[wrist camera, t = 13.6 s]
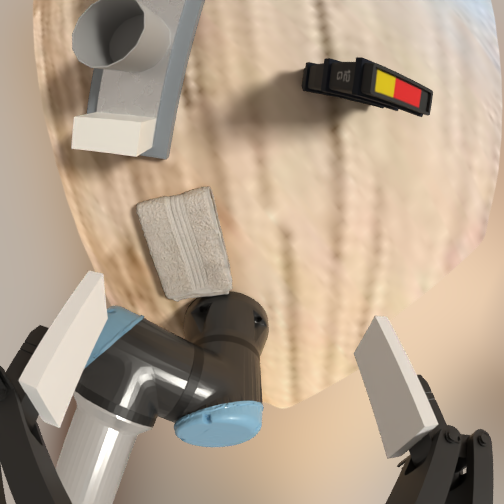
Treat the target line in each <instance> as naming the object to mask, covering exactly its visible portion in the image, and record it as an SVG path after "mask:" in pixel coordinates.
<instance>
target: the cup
mask: <svg viewBox="0 0 504 504" xmlns="http://www.w3.org/2000/svg"><path fill="white" fill-rule="evenodd" d="M169 45H170V30H169V28H168V27H167V25H166V24H165V22H164V21H163V20H162V19H161V18H160V17H158V16H157V15H156V14H155V13H154V12H152V11H151V10H150V9H148V8H147V7H146V6H145V5H143V4H142V3H141V2H139V1H138V0H99V1H97V2H95V3H93V4H91V5H90V7H89V8H88V9H87V10H86V11H85V12H84V13H83V14H82V15H81V16H80V17H79V19H78V22H77V24H76V26H75V29H74V31H73V33H72V49H73V51H74V53H75V55H76V57H77V59H78V60H79V62H81V63H83V64H85V65H87V66H89V67H91V68H98V69H108V70H116V71H124V72H142V71H145V70H147V69H149V68H152V67H154V66H155V65H156V64H157V63H158V62H159V61H160V60H161V59H162V58H163V57H164V56H165V54H166V52H167V50H168V48H169Z"/></svg>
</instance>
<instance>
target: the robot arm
mask: <svg viewBox="0 0 504 504" xmlns="http://www.w3.org/2000/svg"><path fill="white" fill-rule="evenodd" d="M268 332H269V327H268V318H267V315H266V312H265V311H264V309H263V308H262V306H261V305H260V304H259V303H258V302H256V301H255V300H254V299H252V298H250V297H248V296H246V295H244V294H241V293H237V292H231V291H229V294H222V295H216V296H205V297H199V298H197V299H196V300H195V301H193V302H192V303H191V305H190V306H189V307H188V309H187V312H186V315H185V319H184V334H185V339H186V340H185V339H183V338H181V337H179V336H177V335H175V334H173V333H171V332H169V331H167V330H165V329H163V328H161V327H159V326H158V325H156V324H154V323H152V322H150V321H148V320H146V319H145V318H144V316H142V315H140V316H139V315H137V314H135V313H133V312H131V311H129V310H127V309H125V308H123V307H121V306H111V307H110V308H108V309H107V308H106V299H105V289H104V277H103V274H102V273H98V272H93V271H88V273H87V274H86V275H85V277H84V278H83V279H82V281H81V282H80V283H79V285H78V286H77V288H76V289H75V290H74V292H73V293H72V295H71V296H70V298H69V299H68V301H67V302H66V303H65V305H64V306H63V308H62V309H61V311H60V312H59V314H58V315H57V317H56V318H55V320H54V321H53V323H52V324H51V326H50V328H47V327H44V326H41V325H40V326H38V327H37V328H36V329H34V330H33V331H31V333H30V334H29V335H28V337H27V339H26V340H25V343H23V345H22V346H21V348H20V350H19V351H18V353H17V354H16V356H15V358H14V359H13V361H12V363H11V364H10V366H9V368H8V369H7V371H6V372H5V370H4V369H3V368H2V367H1V366H0V461H1V465H2V468H3V471H4V474H5V477H6V479H7V482H8V485H9V488H10V490H11V493H12V495H13V498H14V500H15V503H16V504H113V501H114V498H115V495H116V492H117V489H118V487H119V484H120V481H121V478H122V475H123V473H124V470H125V467H126V464H127V461H128V459H129V456H130V453H131V451H132V448H133V445H134V443H135V440H136V437H137V435H138V434H140V433H142V432H145V431H148V430H151V429H152V428H153V426H154V423H155V421H156V418H157V417H158V416H159V417H161V418H164V419H166V420H169V421H172V422H174V423H175V425H174V430H175V434H176V436H177V437H178V438H180V439H181V440H182V441H184V442H187V443H189V444H192V445H197V446H203V447H225V446H232V445H237V444H240V443H243V442H245V441H248V440H250V439H251V438H253V437H254V436H256V434H257V433H258V432H259V431H260V429H261V426H262V411H263V404H262V388H261V371H260V355H261V353H262V350H263V348H264V345H265V343H266V340H267V337H268ZM354 355H355V358H356V361H357V364H358V367H359V370H360V373H361V376H362V378H363V381H364V384H365V387H366V390H367V393H368V397H369V400H370V403H371V406H372V409H373V412H374V415H375V419H376V422H377V425H378V428H379V432H380V435H381V438H382V442H383V445H384V449H385V452H386V456H387V458H394V457H399V456H402V455H403V454H404V453H405V452H407V451H408V450H409V452H410V455H409V456H408V457H407V458H405V459H404V460H403V461H401V462H400V463H399V464H398V466H397V467H400V466H401V465H403V464H404V463H405V464H404V466H403V467H402V471H401V473H400V475H399V477H398V479H397V482H396V484H395V486H394V488H393V490H392V492H391V494H390V496H389V498H388V500H387V502H386V504H493V455H492V442H491V438H490V436H489V434H488V433H487V432H486V431H484V430H482V429H478V430H477V431H475V432H474V433H473V434H472V435H462V434H460V433H459V431H458V430H457V429H456V428H455V427H453V426H450V425H447V424H446V422H445V420H444V418H443V415H442V413H441V411H440V409H439V406H438V404H437V402H436V400H435V398H434V395H433V393H431V389H430V387H429V385H428V383H427V381H426V380H425V379H424V378H423V377H422V376H421V375H416V373H415V371H414V369H413V366H412V364H411V362H410V360H409V358H408V356H407V354H406V352H405V350H404V348H403V346H402V344H401V342H400V340H399V339H398V337H397V335H396V333H395V331H394V329H393V327H392V325H391V323H390V321H389V319H388V318H387V317H384V316H375V317H374V318H373V320H372V322H371V324H370V326H369V328H368V329H367V331H366V333H365V335H364V337H363V338H362V340H361V342H360V343H359V345H358V347H357V349H356V350H355V352H354ZM72 395H74V397H75V400H76V402H77V409H76V411H75V414H74V417H73V419H72V422H71V425H70V428H69V430H68V433H67V436H66V439H65V442H64V445H63V448H62V451H61V454H60V457H59V460H58V463H57V466H56V469H55V467H54V465H53V463H52V460H51V458H50V456H49V453H48V451H47V449H46V446H45V443H44V441H43V438H42V435H41V432H40V429H39V426H38V424H37V422H36V420H37V417H38V415H40V417H41V418H42V419H43V421H44V422H46V423H49V424H51V425H54V426H56V427H59V428H60V426H61V423H62V421H63V418H64V415H65V413H66V410H67V408H68V405H69V403H70V400H71V398H72ZM1 465H0V504H6V500H5V494H4V488H3V481H2V473H1ZM466 467H467V469H466V473H465V474H463V469H464V468H466Z"/></svg>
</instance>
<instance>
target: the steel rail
mask: <svg viewBox="0 0 504 504" xmlns="http://www.w3.org/2000/svg"><path fill="white" fill-rule="evenodd" d="M138 1H139V2H141V3H142V4H143V5H145V6H146V7H147V8H148V9H150V10H151V11H152V12H154V13H155V14H156V15H157V16H158V17H160V18H161V19H162V20H163V21H164V22H165V24H166V25H167V27H168V28H169V30H170V45H169V48H168V50H167V52H166V54H165V56H164V57H163V58H162V59H161V60H160V61H159V62H158V63H157V64H156V65H155V66H154V67H152V68H149V69H147V70H145V71H142V72H124V71H116V70H108V69H103V74H102V80H101V85H100V91H99V97H98V104H97V111H96V112H102V113H114V114H125V115H135V116H144V117H152V118H157V119H156V125H155V131H154V137H153V144H152V147H154V141H155V135H156V129H157V123H158V117H159V112H160V106H161V101H162V96H163V91H164V86H165V81H166V77H167V72H168V68H169V64H170V59H171V55H172V51H173V47H174V43H175V40H176V36H177V32H178V29H179V25H180V21H181V18H182V15H183V11H184V8H185V5H186V2H187V0H138Z"/></svg>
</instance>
